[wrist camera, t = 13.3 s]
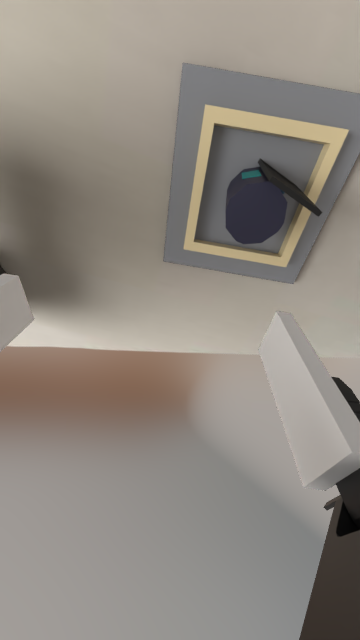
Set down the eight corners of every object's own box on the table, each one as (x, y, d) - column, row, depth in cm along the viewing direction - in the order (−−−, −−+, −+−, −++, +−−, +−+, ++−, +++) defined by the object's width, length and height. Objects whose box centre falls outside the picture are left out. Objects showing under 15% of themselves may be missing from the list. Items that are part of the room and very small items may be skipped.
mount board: (164, 258, 33) (161, 265, 31) (183, 66, 21) (181, 56, 19) (291, 281, 33) (296, 288, 31) (380, 101, 21) (398, 94, 19)
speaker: (273, 138, 23) (298, 142, 15) (296, 185, 25) (328, 210, 18) (214, 191, 27) (212, 215, 19) (239, 227, 29) (246, 262, 22)
